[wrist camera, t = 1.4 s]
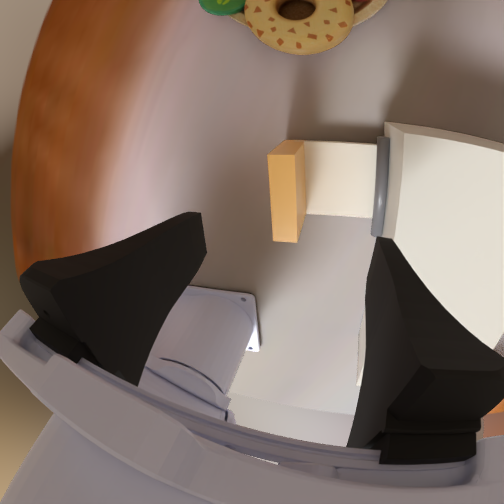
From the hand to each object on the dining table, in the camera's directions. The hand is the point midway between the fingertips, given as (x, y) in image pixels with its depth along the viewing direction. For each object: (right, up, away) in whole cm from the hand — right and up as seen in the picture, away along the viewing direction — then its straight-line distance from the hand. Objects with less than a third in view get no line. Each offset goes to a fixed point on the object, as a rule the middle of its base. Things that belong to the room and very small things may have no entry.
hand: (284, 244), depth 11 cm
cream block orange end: (+8, +4, +6) cm, 11 cm away
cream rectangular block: (+13, 0, +7) cm, 15 cm away
